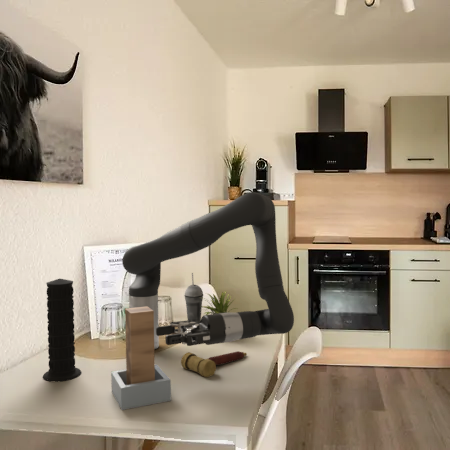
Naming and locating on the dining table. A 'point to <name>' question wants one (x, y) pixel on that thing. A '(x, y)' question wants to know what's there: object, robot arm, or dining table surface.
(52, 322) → the handle grip
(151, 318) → the walnut handle block
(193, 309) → the beverage cup
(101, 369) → the dining table surface
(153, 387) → the box
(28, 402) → the dining table surface
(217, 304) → the house plant
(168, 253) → the robot arm
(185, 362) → the gavel
